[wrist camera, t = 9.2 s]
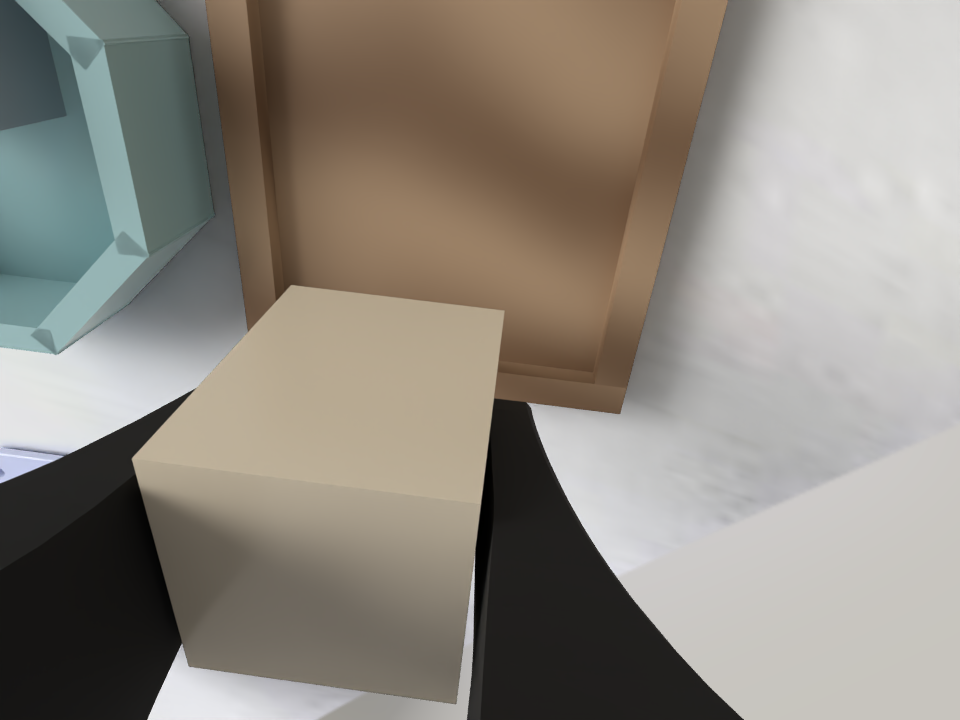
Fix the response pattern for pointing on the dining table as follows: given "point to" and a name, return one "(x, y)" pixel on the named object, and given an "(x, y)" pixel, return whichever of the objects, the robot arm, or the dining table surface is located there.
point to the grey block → (26, 71)
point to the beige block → (330, 493)
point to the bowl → (99, 172)
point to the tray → (468, 163)
